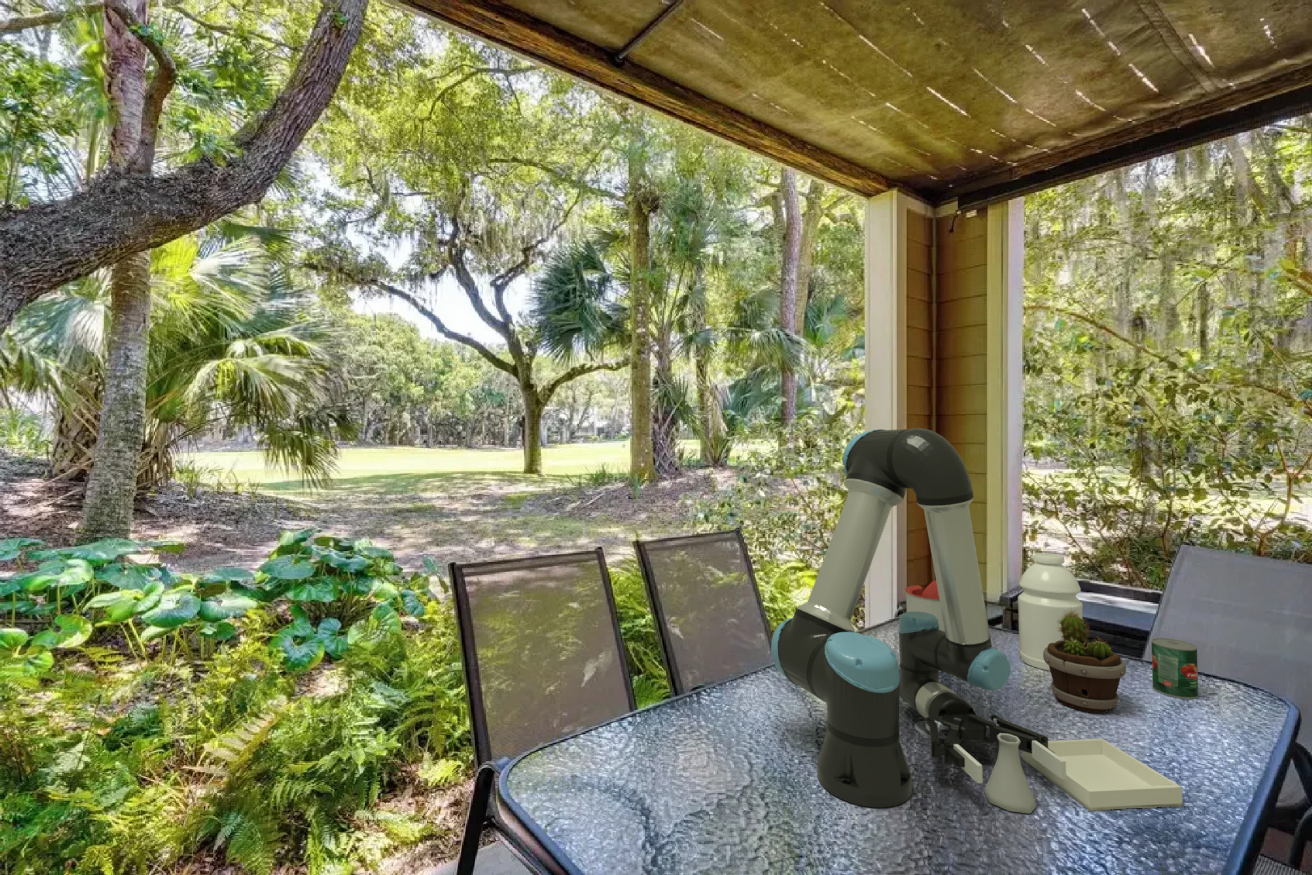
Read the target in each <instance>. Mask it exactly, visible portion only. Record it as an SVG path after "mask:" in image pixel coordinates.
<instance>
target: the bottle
mask: <svg viewBox="0 0 1312 875" xmlns="http://www.w3.org/2000/svg"><path fill="white" fill-rule="evenodd" d="M1032 560H1033V561H1034V563H1032V564H1031V565H1029V567H1027V569H1026V570H1025V571H1024V572H1023V573H1022V575H1021V577H1020V580H1019V582H1018V585H1019V587H1021V589H1023V592H1021V593H1020V594H1019V595H1018V596H1017V604H1018V606H1017V607H1018V639H1019V640H1018V642H1019V643H1018V645H1019V646H1018V648H1019V650H1018V654H1019V658H1020V659H1021V661H1022V662H1023V663H1026V664H1027V665H1030V666H1032V667H1035V668H1037V669H1041V670H1045V671H1050V668H1049V665H1048V664H1046V662H1045V661H1044V658H1043V652H1044V649H1045V648H1046V647H1048V644H1050V643H1056V642H1057V641H1060V640H1061V639H1064V638H1062V636H1063V634H1062V632H1061V631H1060V630H1059V628H1061V625H1060V624H1058V623H1059V621H1061V620H1059V619H1061V618H1060V617H1062V616H1063V617H1064V618H1065V617H1066V616H1065V615H1067V614H1066V613H1068V612H1071V610H1072V612H1071V613H1068V614H1072V613H1073V611H1074V610H1075V611H1074V613H1075V614H1078V616H1077V617H1079V618H1081V619H1082V618H1083V608H1084V607H1083V602H1082V601H1080V599H1079V598H1078V597H1077V594H1079V593H1080V592H1081V587H1080V584H1079V582H1078V580H1077V578H1076V577H1075V576H1074V574H1073V573H1072V572H1071V571H1070V570H1069V569H1068V568H1067V567H1066V566H1065V565H1063V564H1065V557H1064V555H1062V554H1057V553H1050V552H1049V553H1048V552H1037V553H1034V554H1033V556H1032ZM1066 611H1067V612H1066ZM1074 613H1073V614H1074ZM1063 617H1062V620H1063ZM1058 626H1059V627H1058ZM1058 630H1059V632H1058ZM1060 634H1061V635H1062V636H1061V635H1060ZM1064 641H1065V640H1064Z"/></svg>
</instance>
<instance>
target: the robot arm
mask: <svg viewBox="0 0 1312 875" xmlns="http://www.w3.org/2000/svg"><path fill="white" fill-rule="evenodd" d="M842 455H843V456H842V465H843V466H844V467H843V471H844V474H845V475H846V477H845V480H844V484H845V486H846V489H847V491H848V495H847V497H846V500H845V502H844V504H843V507H842V510H841V513H840V516H839V518H838V521H837V523H836V525H835V529H834V531H833V533H832V537H831V539H830V541H829V544H828V547H827V549H826V552H825V555H824V558H823V560H822V563H821V565H820V568H819V571H818V573H817V576H816V578H815V581H814V583H813V587H812V589H811V591H810V595H809V597H808V599H807V601H806V602H805V603H803V604H800V605H798V606H796V609H795V611H794V613H793V616H792V617H790V618H787V619H785V621H783V622H780V623H779V625H777V627H776V629H775V630H774V633H773V635H772V638H771V644H770V645H771V646H770V652H771V657H772V660H773V663H774V665H775V668H776V669H777V670H778V672H779V673H780V674H781V675H782V676H783V677H785V678H786V679H787V680H788V681H789V682H790V683H792V684H793V685H795V686H797V687H800V688H802V689H803V690H805V691H807V692H808V693H810V694H811V695H813V696H815V697H816V698H818V699H819V700H821V701H823V702H824V703H825V704H826V723H827V724H826V732H825V736H824V740H823V742H822V745H821V748H820V752H819V754H818V757H817V762H816V764H817V765H816V767H817V769H816V770H817V772H816V773H817V774H816V775H817V779H818V781H819V783H820V784H821V785H822V787H823V788H824V789H825V790H826V791H828V792H829V793H830V794H831V795H833V796H835V797H837V798H838V799H840V800H842V801H845V802H848V803H851V804H853V805H859V806H863V807H868V808H890V807H895V806H898V805H899V806H900V805H901V804H903V803H905V802H906V801H908V800H909V799H910V797H911V795H912V792H913V783H912V782H913V778H912V772H911V769H910V767H909V764H908V761H907V758H906V755H905V752H904V750H903V746H902V744H901V739H900V699H902V701H903V702H905V703H906V704H907V705H908V706H910V707H912V708H913V709H914V710H915V711H916V712H918V713H919V715H921V717H923V718H924V719H925V733H926V734H927V735H928V736H929V741H930V751H931V757H932V758H934V759H939V758H940V756H942V757H943V758H944V759H943V760H944V761H943V762H944V763H945V764H948V765H952V764H954V766H956V767H958V768H961V769H962V770H963V771H964V772H965V773H966V774H967V775H969V776H970V777H971V778H972V779H973V781H975V783H977V784H983V765H982V764H981V763H980V761H978V760H977V759H975V758H974V757H973V756H972V755H971V754H970V753H969V752H967V751H966V750H965V749H964V748H963V747H962V746H961V745H960V744H961V742H962V741H964V740H965V741H967V742H968V741H969V742H970V741H974V740H975V741H982V742H985V743H989V744H993V745H994V744H995V743H998V744H999V740H998V739H997V735H998V734H999V733H1005V734H1011V735H1014V736H1017V737H1018V738H1019V740H1020V744H1019V745H1018V751H1019V750H1020V751H1021V752H1022V751H1025V752H1028V753H1031V754H1032V757H1033V758H1034V759H1035V760H1037V761H1038V762H1039V763H1041V764H1042V765H1043V766H1045V767H1046V768H1047V769H1049V770H1050V771H1051V772H1053V773H1054V774H1056V775H1057V776H1058V777H1060V778H1061V779H1066V761H1064V760H1063V759H1062V758H1060V757H1059V756H1057V755H1056V754H1055V753H1054V752H1053V751H1052V750H1050V749H1049V748H1048V741H1049V737H1048V736H1046V735H1044V734H1042V733H1039V732H1036V731H1033V730H1030V729H1029V728H1025V727H1023V726H1021V725H1018V724H1016V723H1013V722H1011V721H1008V720H1006V719H1004V718H1002V717H1000V716H999V715H996V714H991V715H990V719H986V718H984V717H982V716H979V715H977V713H976V711H975V710H974V708H973V707H972V706H971V704H970V703H969V702H968V701H966V700H965V699H963V698H962V697H961V696H959V695H958V694H957V693H956V692H955V691H953V690H951V689H950V688H949V687H947V686H946V685H944V684H943V683H942V682H940V672H943V673H946V674H947V675H950V676H953V677H954V678H957V679H959V680H961V681H964V682H966V683H968V684H969V685H971V686H974V687H978V688H980V689H984V690H987V691H994V692H995V691H998V690H1000V689H1002V688H1003V687H1004V686H1005V685H1006V684H1007V682H1008V680H1009V678H1010V673H1011V663H1010V660H1009V658H1008V657H1007V656H1006V654H1005V653H1004V652H1003V651H1002V650H999V649H998V648H996V647H993V644H992V639H991V634H990V630H989V629H990V628H989V623H988V616H987V611H986V604H985V599H984V598H985V596H984V591H983V585H982V579H981V574H980V568H979V560H978V555H977V549H976V547H977V546H976V543H975V537H974V536H975V535H974V531H973V530H974V529H973V524H972V519H971V518H972V517H971V511H970V504H972V502H973V501H974V499H975V496H974V491H973V485H972V484H973V483H972V481H971V477H970V474H969V473H968V469H967V467H966V465H965V462H964V461H963V459H962V457H961V455H960V454H959V453H958V451H957V450H956V448H955V447H954V446H953V445H952V444H951V443H950V442H949V441H948V440H947V439H946V438H945V437H944V436H943V435H940V434H939V433H937V432H935V431H934V430H931V429H927V428H922V427H918V428H906V429H905V428H903V429H902V428H901V429H882V428H881V429H880V428H879V429H872V430H869V431H868V430H867V431H864V432H861V433H859V434H857V435H855V436H854V437H852V439H850V441H849V442H848V443H847V445H846V446H845V449H844V451H843V454H842ZM908 489H912V491H913V492H914V494H915V500H916V504H917V505H918V506H919V507H920V508H921V509H923V512H924V517H925V523H926V528H927V535H928V542H929V547H930V552H931V559H932V563H933V570H934V574H935V580H936V582H937V588H938V594H939V599H940V605H941V611H942V617H943V622H944V628H945V631H942V630H939V623H938V619H937V618H936V617H935V616H934V615H932V614H929V613H925V612H915V611H913V612H907V611H906V612H903V613H902V614H900V617H899V629H898V639H899V640H898V642H899V644H898V646H899V663H898V657H897V655H896V653H895V651H894V650H893V648H891V646H889V644H887V643H886V642H884V641H882V640H881V639H878V638H877V637H875V636H872V635H868V634H861V633H859V632H856V631H855V629H854V627H853V624H852V618H853V615H854V612H855V609H856V606H857V604H858V601H859V598H860V596H861V593H862V590H863V588H864V585H865V582H866V579H867V577H868V573H869V571H870V569H871V565H872V563H873V560H874V557H875V554H876V551H877V548H878V547H879V543H880V540H881V538H882V535H883V532H884V529H885V527H886V523H887V521H888V519H889V515H890V513H891V511H892V508H894V507H895V506H899V505H900V504H902V503H903V501H904V498H905V496H906V493H907V490H908ZM988 731H989V736H988V735H987V732H988ZM939 733H940V734H942V735H943V736H944V737H945V739H944V741H943V743H940V737H939Z"/></svg>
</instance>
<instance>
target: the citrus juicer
mask: <svg viewBox="0 0 1312 875" xmlns="http://www.w3.org/2000/svg"><path fill="white" fill-rule="evenodd" d="M904 589H905V590H904V591H905V594H906V595H905V596H906V598H905V599H906V600H905V601H906V612H913V611H915V612H925V613H929V614H932V615H934V616H935V617H936V618H937V619H938V623H939V630H942V631H945V628H944V622H943V617H942V611H941V605H940V599H939V594H938V588H937V582H936V579H935V580H933V581H931V582H930V583H929V584H928V585H927V586H926V587H925V588H924V589H923V587H922V586H921V585H919V584H917V585H916V584H915V585H910V586H907V587H906V588H904Z"/></svg>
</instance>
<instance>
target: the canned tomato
mask: <svg viewBox="0 0 1312 875" xmlns="http://www.w3.org/2000/svg"><path fill="white" fill-rule="evenodd" d="M1150 642H1151V667H1152V668H1151V670H1152V672H1151V674H1152V676H1151V677H1152V680H1151V681H1152V689H1153V691H1156V692H1157V693H1159V694H1162V695H1164V696H1168V697H1171V698H1175V697H1176V698H1177V699H1181V700H1196V699H1198V698H1199V676H1198V674H1199V673H1198V671H1199V670H1198V669H1199V668H1198V666H1199V665H1198V646H1197V645H1196V644H1193V643H1191V642H1188V641H1185V640H1180V639H1175V638H1170V637H1169V638H1167V637H1154V638H1151V640H1150ZM1176 698H1175V699H1176Z"/></svg>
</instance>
